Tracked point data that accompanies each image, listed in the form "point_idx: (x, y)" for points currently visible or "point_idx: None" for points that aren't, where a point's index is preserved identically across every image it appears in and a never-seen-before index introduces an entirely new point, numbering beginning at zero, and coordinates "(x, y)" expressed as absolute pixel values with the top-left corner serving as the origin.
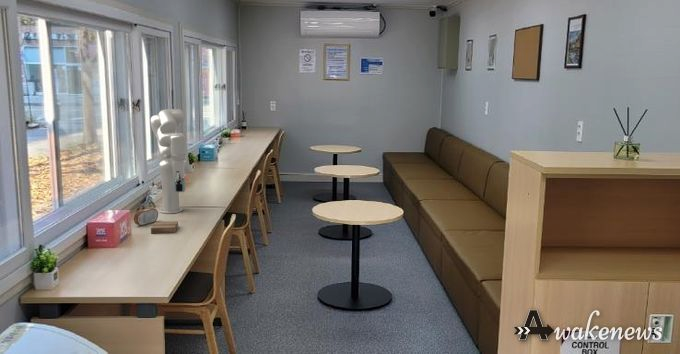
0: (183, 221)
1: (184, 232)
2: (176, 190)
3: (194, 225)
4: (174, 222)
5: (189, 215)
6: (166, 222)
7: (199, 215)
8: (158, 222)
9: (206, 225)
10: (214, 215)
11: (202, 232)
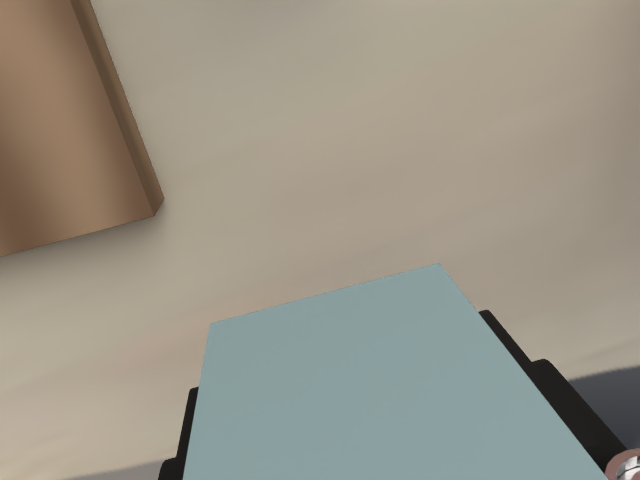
0: (358, 170)
1: (2, 326)
2: (190, 401)
3: None
4: (101, 198)
5: (581, 139)
6: (75, 107)
7: (575, 232)
8: (43, 4)
9: None
10: (566, 350)
11: (53, 449)
